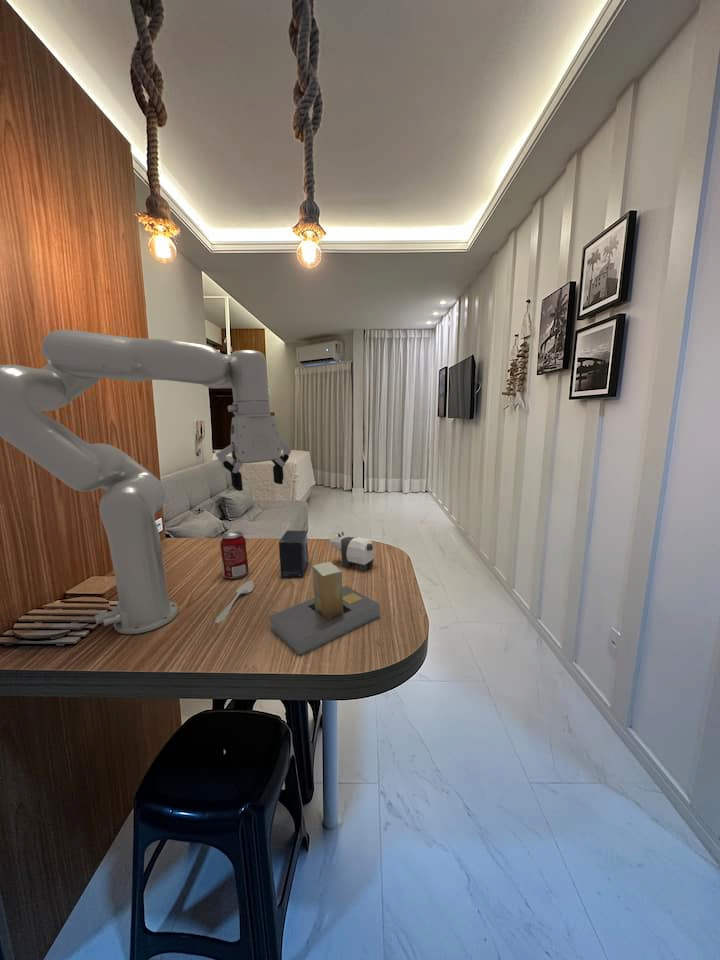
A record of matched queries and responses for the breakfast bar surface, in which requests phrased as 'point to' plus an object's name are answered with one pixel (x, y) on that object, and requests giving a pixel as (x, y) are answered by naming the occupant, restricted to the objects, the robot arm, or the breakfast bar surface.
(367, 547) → the giant panda
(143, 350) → the robot arm
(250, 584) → the spoon
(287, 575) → the small box
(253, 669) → the breakfast bar surface
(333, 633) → the grey slotted base block
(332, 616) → the skincare box
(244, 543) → the soda can
